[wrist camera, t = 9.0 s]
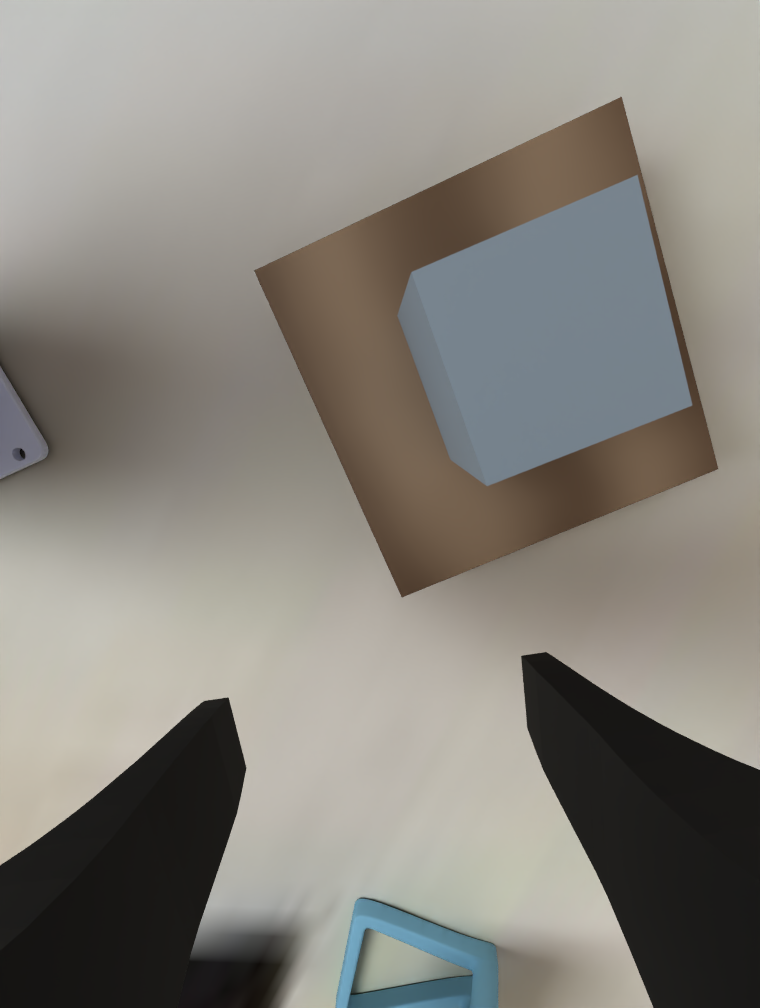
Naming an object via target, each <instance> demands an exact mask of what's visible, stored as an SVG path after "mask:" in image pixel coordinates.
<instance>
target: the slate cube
mask: <svg viewBox="0 0 760 1008" xmlns="http://www.w3.org/2000/svg"><path fill="white" fill-rule="evenodd" d="M397 316H398V319H399V321H400V324H401V327H402V329H403V332H404V335H405V338H406V340H407V343H408V346H409V349H410V351H411V354H412V357H413V359H414V362H415V365H416V368H417V370H418V373H419V376H420V378H421V381H422V384H423V387H424V389H425V392H426V395H427V397H428V400H429V403H430V406H431V408H432V411H433V414H434V416H435V419H436V422H437V425H438V427H439V430H440V433H441V436H442V438H443V441H444V444H445V446H446V449H447V452H448V455H449V457H450V460H451V461H453V462H454V463H456V464H457V465H458V466H460V467H461V468H463V469H464V470H465V471H467V472H468V473H469V474H471V475H472V476H474V477H475V478H476V479H478V480H479V481H481V482H482V483H483V484H485V485H486V486H489V485H491V484H494V483H497V482H499V481H502V480H504V479H507V478H509V477H512V476H514V475H517V474H519V473H522V472H525V471H527V470H530V469H532V468H535V467H537V466H540V465H542V464H545V463H547V462H550V461H552V460H555V459H558V458H560V457H563V456H565V455H568V454H570V453H573V452H575V451H578V450H580V449H583V448H586V447H588V446H591V445H593V444H596V443H598V442H601V441H603V440H606V439H608V438H611V437H613V436H616V435H619V434H621V433H624V432H626V431H629V430H631V429H634V428H636V427H639V426H641V425H644V424H647V423H649V422H652V421H654V420H657V419H659V418H662V417H664V416H667V415H669V414H672V413H674V412H677V411H680V410H682V409H685V408H687V407H690V406H692V401H691V397H690V393H689V389H688V384H687V380H686V376H685V372H684V368H683V364H682V359H681V355H680V351H679V347H678V343H677V338H676V334H675V330H674V326H673V322H672V317H671V313H670V309H669V305H668V301H667V296H666V292H665V288H664V284H663V280H662V275H661V271H660V267H659V263H658V259H657V255H656V250H655V246H654V242H653V238H652V234H651V229H650V225H649V221H648V217H647V213H646V208H645V204H644V200H643V196H642V192H641V187H640V183H639V179H638V175H636V176H634V177H631V178H629V179H627V180H624V181H622V182H620V183H617V184H615V185H613V186H611V187H608V188H606V189H604V190H601V191H599V192H597V193H594V194H592V195H590V196H587V197H585V198H583V199H580V200H578V201H576V202H573V203H571V204H569V205H566V206H564V207H562V208H559V209H557V210H555V211H552V212H550V213H548V214H545V215H543V216H541V217H538V218H536V219H534V220H531V221H529V222H527V223H524V224H522V225H520V226H517V227H515V228H513V229H510V230H508V231H506V232H503V233H501V234H499V235H496V236H494V237H492V238H489V239H487V240H485V241H482V242H480V243H478V244H475V245H473V246H471V247H468V248H466V249H464V250H462V251H459V252H457V253H455V254H452V255H450V256H448V257H445V258H443V259H441V260H438V261H436V262H434V263H431V264H429V265H427V266H424V267H422V268H420V269H417V270H415V271H413V272H411V274H410V278H409V281H408V284H407V287H406V290H405V293H404V296H403V299H402V303H401V306H400V309H399V312H398V315H397Z"/></svg>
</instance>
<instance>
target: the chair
mask: <svg viewBox="0 0 760 1008" xmlns="http://www.w3.org/2000/svg"><path fill="white" fill-rule="evenodd" d="M366 928H370V929H373V930H376V931H378V932H381V933H383V934H385V935H388V936H390V937H392V938H395V939H397V940H400V941H402V942H404V943H407V944H409V945H411V946H414V947H416V948H418V949H420V950H423V951H425V952H427V953H430V954H432V955H434V956H437V957H439V958H441V959H444V960H446V961H449V962H451V963H453V964H456V965H458V966H461V967H464V968H466V969H468V970H471V971H472V973H473V976H463V977H454V978H447V979H441V980H435V981H429V982H423V983H418V984H412V985H407V986H401V987H396V988H391V989H385V990H380V991H374V992H368V993H363V994H356V995H350V993H351V989H352V984H353V980H354V976H355V971H356V967H357V962H358V958H359V954H360V949H361V945H362V941H363V936H364V932H365V930H366ZM335 1008H498V960H497V952H496V947H495V946H494V945H493V944H491V943H488V942H485V941H481V940H478V939H474V938H471V937H468V936H465V935H462V934H459V933H457V932H454V931H451V930H449V929H446V928H443V927H441V926H438V925H436V924H433V923H431V922H428V921H426V920H423V919H421V918H418V917H416V916H413V915H411V914H408V913H406V912H403V911H400V910H398V909H395V908H393V907H390V906H387V905H385V904H382V903H379V902H376V901H372V900H368V899H358V900H357V901H356V902H355V906H354V911H353V916H352V921H351V926H350V931H349V936H348V941H347V946H346V951H345V956H344V961H343V966H342V971H341V976H340V981H339V986H338V992H337V997H336V1007H335Z"/></svg>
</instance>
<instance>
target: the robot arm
mask: <svg viewBox="0 0 760 1008" xmlns="http://www.w3.org/2000/svg"><path fill="white" fill-rule="evenodd" d="M20 449H23V450H24V451H25V454H26V456H25V459H23V458H22V457H21V456H20V453H19V452H20ZM47 455H48V446H47V443H46V442H45V440H44V438H43V437H42V435H41V433H40V432H39V430H38V428H37V427H36V425H35V423H34V422H33V420H32V418H31V417H30V415H29V413H28V412H27V410H26V408H25V407H24V405H23V403H22V402H21V400H20V398H19V397H18V395H17V393H16V392H15V390H14V388H13V387H12V385H11V383H10V382H9V380H8V378H7V377H6V375H5V373H4V372H3V370H2V368H1V367H0V479H2V478H4V477H6V476H8V475H11V474H13V473H15V472H17V471H19V470H21V469H24V468H26V467H28V466H30V465H32V464H34V463H37V462H39V461H41V460H43V459H44V458H46V457H47ZM521 658H522V670H523V682H524V693H525V705H526V717H527V728H528V731H529V734H530V736H531V739H532V742H533V744H534V747H535V750H536V752H537V755H538V758H539V760H540V763H541V765H542V768H543V770H544V772H545V774H546V776H547V778H548V780H549V782H550V784H551V786H552V788H553V790H554V792H555V794H556V796H557V798H558V800H559V802H560V804H561V806H562V807H563V809H564V811H565V813H566V815H567V817H568V819H569V821H570V823H571V825H572V827H573V829H574V831H575V833H576V834H577V836H578V838H579V840H580V842H581V844H582V846H583V848H584V850H585V852H586V854H587V856H588V858H589V859H590V861H591V863H592V865H593V867H594V869H595V871H596V873H597V875H598V877H599V879H600V882H601V884H602V886H603V888H604V890H605V892H606V894H607V896H608V899H609V901H610V903H611V906H612V908H613V910H614V913H615V915H616V918H617V920H618V922H619V925H620V927H621V930H622V932H623V934H624V937H625V939H626V941H627V944H628V946H629V949H630V951H631V953H632V956H633V958H634V961H635V963H636V966H637V968H638V971H639V973H640V975H641V978H642V980H643V983H644V985H645V988H646V990H647V993H648V995H649V998H650V1000H651V1003H652V1005H653V1008H760V770H759V769H756V768H754V767H751V766H749V765H746V764H744V763H741V762H739V761H736V760H734V759H732V758H730V757H727V756H725V755H723V754H720V753H718V752H716V751H714V750H712V749H710V748H708V747H705V746H703V745H701V744H699V743H697V742H695V741H693V740H691V739H689V738H687V737H685V736H683V735H681V734H679V733H677V732H675V731H673V730H671V729H669V728H667V727H665V726H663V725H661V724H660V723H658V722H656V721H654V720H652V719H651V718H649V717H647V716H645V715H644V714H642V713H640V712H638V711H637V710H635V709H633V708H631V707H630V706H628V705H626V704H625V703H623V702H621V701H620V700H618V699H617V698H615V697H613V696H612V695H610V694H609V693H607V692H605V691H604V690H602V689H601V688H599V687H598V686H596V685H595V684H593V683H592V682H590V681H589V680H587V679H586V678H584V677H583V676H581V675H580V674H578V673H577V672H575V671H574V670H572V669H571V668H569V667H568V666H566V665H565V664H563V663H562V662H561V661H559V660H558V659H556V658H555V657H553V656H552V655H550V654H548V653H547V652H544V653H537V654H530V655H523V656H521ZM245 772H246V765H245V761H244V757H243V753H242V749H241V745H240V741H239V737H238V733H237V729H236V725H235V721H234V717H233V713H232V709H231V706H230V702H229V698H222V699H215V700H208V701H204V702H202V703H201V704H200V705H199V706H197V707H196V708H195V709H194V710H193V711H191V712H190V713H189V714H188V715H187V716H186V717H185V718H183V719H182V720H181V721H180V722H179V723H178V724H177V725H176V726H175V727H174V728H172V729H171V730H170V731H169V732H168V733H167V734H166V735H165V736H164V737H163V738H161V739H160V740H159V741H158V742H157V743H156V744H155V745H154V746H153V747H152V748H150V749H149V750H148V751H147V752H146V753H145V754H144V755H143V756H142V757H140V758H139V759H138V760H137V761H136V762H135V763H134V764H133V765H131V766H130V767H129V768H128V769H127V770H126V771H124V772H123V773H122V774H121V775H120V776H118V777H117V778H116V779H115V780H114V781H112V782H111V783H110V784H109V785H108V786H107V787H105V788H104V789H103V790H102V791H101V792H99V793H98V794H97V795H96V796H95V797H94V798H92V799H91V800H90V801H89V802H87V803H86V804H85V805H84V806H82V807H81V808H80V809H79V810H77V811H76V812H75V813H73V814H72V815H71V816H70V817H68V818H67V819H66V820H64V821H63V822H62V823H60V824H59V825H57V826H56V827H55V828H53V829H52V830H51V831H49V832H48V833H47V834H45V835H44V836H43V837H41V838H40V839H38V840H37V841H36V842H34V843H33V844H31V845H30V846H29V847H27V848H26V849H24V850H23V851H21V852H20V853H18V854H17V855H15V856H14V857H12V858H11V859H9V860H8V861H6V862H5V863H3V864H2V865H0V1008H177V1006H178V1002H179V998H180V994H181V990H182V986H183V982H184V978H185V974H186V970H187V966H188V962H189V958H190V955H191V951H192V948H193V944H194V941H195V938H196V934H197V931H198V928H199V925H200V922H201V919H202V916H203V913H204V910H205V907H206V904H207V901H208V898H209V895H210V892H211V889H212V886H213V883H214V880H215V877H216V874H217V871H218V869H219V866H220V863H221V860H222V857H223V854H224V851H225V848H226V845H227V842H228V839H229V836H230V833H231V830H232V827H233V824H234V820H235V817H236V814H237V810H238V806H239V801H240V797H241V792H242V787H243V782H244V777H245Z"/></svg>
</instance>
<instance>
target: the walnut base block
mask: <svg viewBox="0 0 760 1008" xmlns="http://www.w3.org/2000/svg"><path fill="white" fill-rule="evenodd" d="M636 175H638V179H639V183H640V187H641V192H642V196H643V200H644V204H645V208H646V213H647V217H648V221H649V225H650V229H651V234H652V238H653V242H654V246H655V250H656V255H657V259H658V263H659V267H660V271H661V275H662V280H663V284H664V288H665V292H666V296H667V301H668V305H669V309H670V313H671V317H672V322H673V326H674V330H675V334H676V338H677V343H678V347H679V351H680V355H681V359H682V364H683V368H684V372H685V376H686V380H687V384H688V389H689V393H690V397H691V401H692V406H690V407H687V408H685V409H682V410H680V411H677V412H674V413H672V414H669V415H667V416H664V417H662V418H659V419H657V420H654V421H652V422H649V423H647V424H644V425H641V426H639V427H636V428H634V429H631V430H629V431H626V432H624V433H621V434H619V435H616V436H613V437H611V438H608V439H606V440H603V441H601V442H598V443H596V444H593V445H591V446H588V447H586V448H583V449H580V450H578V451H575V452H573V453H570V454H568V455H565V456H563V457H560V458H558V459H555V460H552V461H550V462H547V463H545V464H542V465H540V466H537V467H535V468H532V469H530V470H527V471H525V472H522V473H519V474H517V475H514V476H512V477H509V478H507V479H504V480H502V481H499V482H497V483H494V484H491V485H489V486H486V485H485V484H483V483H482V482H481V481H479V480H478V479H476V478H475V477H474V476H472V475H471V474H469V473H468V472H467V471H465V470H464V469H463V468H461V467H460V466H458V465H457V464H456V463H454V462H453V461H451V460H450V457H449V455H448V452H447V449H446V446H445V444H444V441H443V438H442V436H441V433H440V430H439V427H438V425H437V422H436V419H435V416H434V414H433V411H432V408H431V406H430V403H429V400H428V397H427V395H426V392H425V389H424V387H423V384H422V381H421V378H420V376H419V373H418V370H417V368H416V365H415V362H414V359H413V357H412V354H411V351H410V349H409V346H408V343H407V340H406V338H405V335H404V332H403V329H402V327H401V324H400V321H399V319H398V316H397V315H398V312H399V309H400V306H401V303H402V299H403V296H404V293H405V290H406V287H407V284H408V281H409V278H410V274H411V272H413V271H415V270H417V269H420V268H422V267H424V266H427V265H429V264H431V263H434V262H436V261H438V260H441V259H443V258H445V257H448V256H450V255H452V254H455V253H457V252H459V251H462V250H464V249H466V248H468V247H471V246H473V245H475V244H478V243H480V242H482V241H485V240H487V239H489V238H492V237H494V236H496V235H499V234H501V233H503V232H506V231H508V230H510V229H513V228H515V227H517V226H520V225H522V224H524V223H527V222H529V221H531V220H534V219H536V218H538V217H541V216H543V215H545V214H548V213H550V212H552V211H555V210H557V209H559V208H562V207H564V206H566V205H569V204H571V203H573V202H576V201H578V200H580V199H583V198H585V197H587V196H590V195H592V194H594V193H597V192H599V191H601V190H604V189H606V188H608V187H611V186H613V185H615V184H617V183H620V182H622V181H624V180H627V179H629V178H631V177H634V176H636ZM254 271H255V273H256V276H257V278H258V280H259V282H260V285H261V287H262V289H263V291H264V293H265V296H266V298H267V300H268V302H269V304H270V307H271V309H272V311H273V313H274V316H275V318H276V320H277V322H278V324H279V327H280V329H281V331H282V333H283V335H284V338H285V340H286V342H287V344H288V346H289V349H290V351H291V353H292V355H293V358H294V360H295V362H296V364H297V366H298V369H299V371H300V373H301V375H302V377H303V380H304V382H305V384H306V386H307V389H308V391H309V393H310V395H311V397H312V400H313V402H314V404H315V406H316V408H317V411H318V413H319V415H320V417H321V420H322V422H323V424H324V426H325V428H326V431H327V433H328V435H329V437H330V439H331V442H332V444H333V446H334V448H335V450H336V453H337V455H338V457H339V459H340V462H341V464H342V466H343V468H344V470H345V473H346V475H347V477H348V479H349V481H350V484H351V486H352V488H353V490H354V493H355V495H356V497H357V499H358V501H359V504H360V506H361V508H362V510H363V512H364V515H365V517H366V519H367V521H368V523H369V526H370V528H371V530H372V532H373V535H374V537H375V539H376V541H377V543H378V546H379V548H380V550H381V552H382V554H383V557H384V559H385V561H386V563H387V566H388V568H389V570H390V572H391V574H392V577H393V579H394V581H395V583H396V585H397V588H398V590H399V592H400V594H401V597H404V596H406V595H409V594H411V593H414V592H416V591H419V590H421V589H424V588H426V587H428V586H431V585H433V584H436V583H438V582H441V581H443V580H446V579H448V578H451V577H453V576H456V575H458V574H461V573H463V572H465V571H468V570H470V569H473V568H475V567H478V566H480V565H483V564H485V563H488V562H490V561H493V560H495V559H498V558H500V557H502V556H505V555H507V554H510V553H512V552H515V551H517V550H520V549H522V548H525V547H527V546H530V545H532V544H534V543H537V542H539V541H542V540H544V539H547V538H549V537H552V536H554V535H557V534H559V533H562V532H564V531H567V530H569V529H571V528H574V527H576V526H579V525H581V524H584V523H586V522H589V521H591V520H594V519H596V518H599V517H601V516H604V515H606V514H608V513H611V512H613V511H616V510H618V509H621V508H623V507H626V506H628V505H631V504H633V503H636V502H638V501H641V500H643V499H645V498H648V497H650V496H653V495H655V494H658V493H660V492H663V491H665V490H668V489H670V488H673V487H675V486H677V485H680V484H682V483H685V482H687V481H690V480H692V479H695V478H697V477H700V476H702V475H705V474H707V473H710V472H712V471H714V470H717V469H718V466H717V462H716V458H715V455H714V451H713V447H712V443H711V439H710V435H709V431H708V428H707V424H706V420H705V416H704V412H703V408H702V404H701V401H700V397H699V393H698V389H697V385H696V381H695V377H694V374H693V370H692V366H691V362H690V358H689V354H688V351H687V347H686V343H685V339H684V335H683V331H682V327H681V324H680V320H679V316H678V312H677V308H676V304H675V300H674V297H673V293H672V289H671V285H670V281H669V277H668V274H667V270H666V266H665V262H664V258H663V254H662V250H661V247H660V243H659V239H658V235H657V231H656V227H655V223H654V220H653V216H652V212H651V208H650V204H649V200H648V197H647V193H646V189H645V185H644V181H643V177H642V173H641V170H640V166H639V162H638V158H637V154H636V150H635V146H634V143H633V139H632V135H631V131H630V127H629V123H628V119H627V116H626V112H625V108H624V104H623V100H622V97H620V98H618V99H616V100H614V101H612V102H610V103H608V104H605V105H603V106H601V107H599V108H597V109H595V110H593V111H591V112H589V113H586V114H584V115H582V116H580V117H578V118H576V119H574V120H572V121H570V122H567V123H565V124H563V125H561V126H559V127H557V128H555V129H553V130H551V131H548V132H546V133H544V134H542V135H540V136H538V137H536V138H534V139H531V140H529V141H527V142H525V143H523V144H521V145H519V146H517V147H515V148H512V149H510V150H508V151H506V152H504V153H502V154H500V155H498V156H496V157H493V158H491V159H489V160H487V161H485V162H483V163H481V164H479V165H476V166H474V167H472V168H470V169H468V170H466V171H464V172H462V173H460V174H457V175H455V176H453V177H451V178H449V179H447V180H445V181H443V182H441V183H438V184H436V185H434V186H432V187H430V188H428V189H426V190H424V191H422V192H419V193H417V194H415V195H413V196H411V197H409V198H407V199H405V200H402V201H400V202H398V203H396V204H394V205H392V206H390V207H388V208H386V209H383V210H381V211H379V212H377V213H375V214H373V215H371V216H369V217H367V218H364V219H362V220H360V221H358V222H356V223H354V224H352V225H350V226H348V227H345V228H343V229H341V230H339V231H337V232H335V233H333V234H331V235H328V236H326V237H324V238H322V239H320V240H318V241H316V242H314V243H312V244H309V245H307V246H305V247H303V248H301V249H299V250H297V251H295V252H293V253H290V254H288V255H286V256H284V257H282V258H280V259H278V260H276V261H274V262H271V263H269V264H267V265H265V266H263V267H261V268H259V269H257V270H254Z"/></svg>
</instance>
